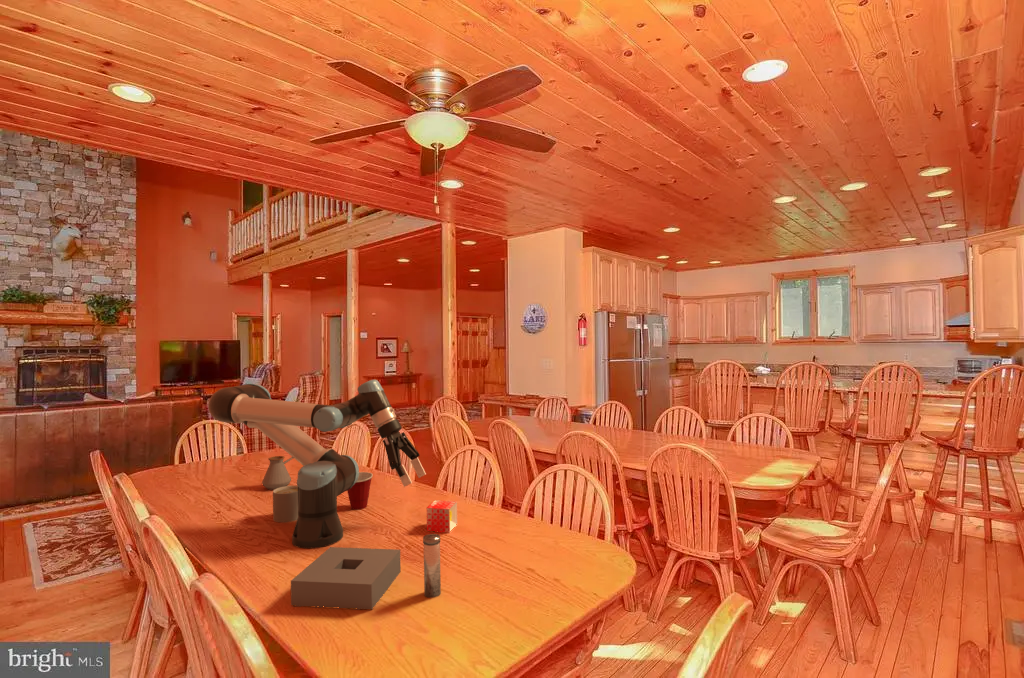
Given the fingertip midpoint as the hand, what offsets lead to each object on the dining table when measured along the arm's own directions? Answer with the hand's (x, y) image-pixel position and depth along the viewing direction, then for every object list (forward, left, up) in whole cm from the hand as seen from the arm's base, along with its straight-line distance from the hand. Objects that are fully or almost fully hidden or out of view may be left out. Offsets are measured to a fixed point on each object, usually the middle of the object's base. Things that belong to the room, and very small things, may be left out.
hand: (415, 480), depth 173 cm
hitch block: (-5, -41, -16) cm, 44 cm away
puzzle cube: (+8, +2, -17) cm, 19 cm away
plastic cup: (-29, +20, -16) cm, 39 cm away
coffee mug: (-49, +9, -16) cm, 52 cm away
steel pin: (+17, -42, -16) cm, 48 cm away
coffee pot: (-73, +47, -16) cm, 88 cm away
